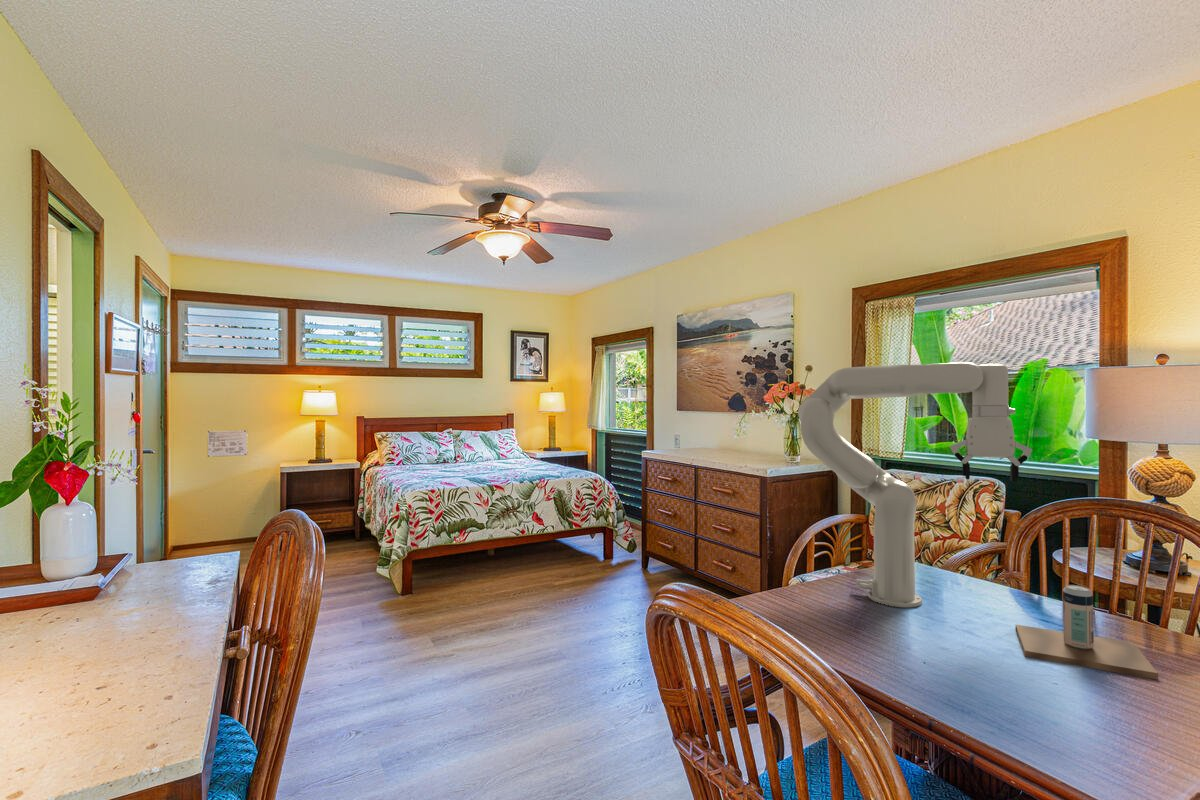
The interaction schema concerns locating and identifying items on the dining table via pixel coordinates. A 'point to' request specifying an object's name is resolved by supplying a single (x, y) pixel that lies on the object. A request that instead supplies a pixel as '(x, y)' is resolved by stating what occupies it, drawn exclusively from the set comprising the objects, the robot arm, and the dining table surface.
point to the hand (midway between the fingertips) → (989, 480)
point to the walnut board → (1085, 652)
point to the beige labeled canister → (1078, 617)
